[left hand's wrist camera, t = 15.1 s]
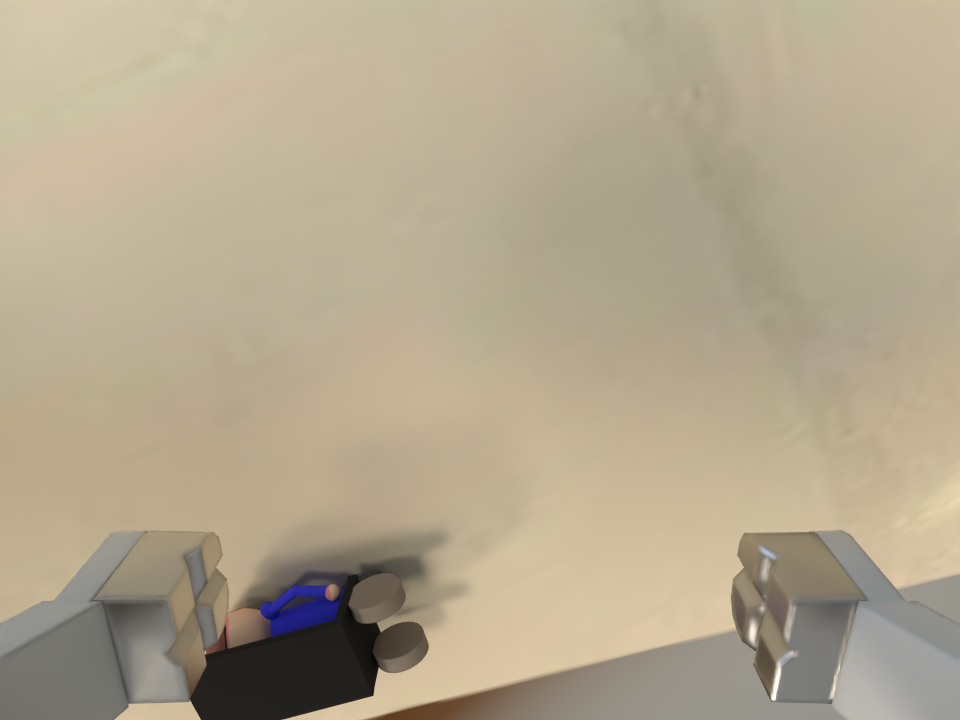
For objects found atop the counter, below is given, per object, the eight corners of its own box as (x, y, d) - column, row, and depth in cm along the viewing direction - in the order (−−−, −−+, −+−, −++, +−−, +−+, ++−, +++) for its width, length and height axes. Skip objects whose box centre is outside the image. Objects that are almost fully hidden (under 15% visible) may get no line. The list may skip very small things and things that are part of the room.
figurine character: (397, 530, 49) (198, 596, 49) (397, 601, 41) (164, 679, 41) (428, 602, 51) (238, 665, 51) (432, 680, 44) (212, 753, 44)
